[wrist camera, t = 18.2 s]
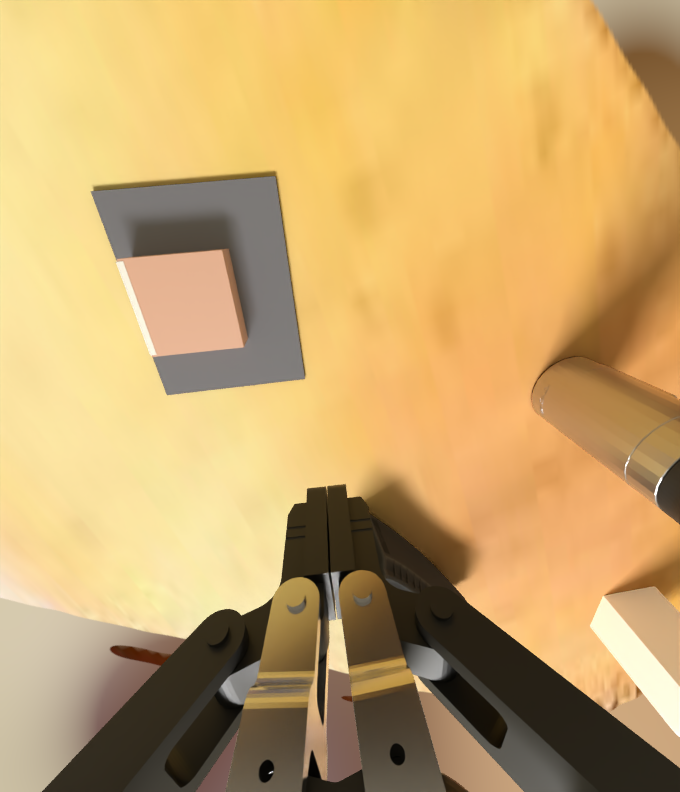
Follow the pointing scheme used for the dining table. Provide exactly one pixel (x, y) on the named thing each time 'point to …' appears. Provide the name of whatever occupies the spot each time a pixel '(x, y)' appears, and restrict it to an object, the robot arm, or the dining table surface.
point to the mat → (252, 264)
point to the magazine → (405, 562)
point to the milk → (645, 645)
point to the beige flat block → (185, 301)
